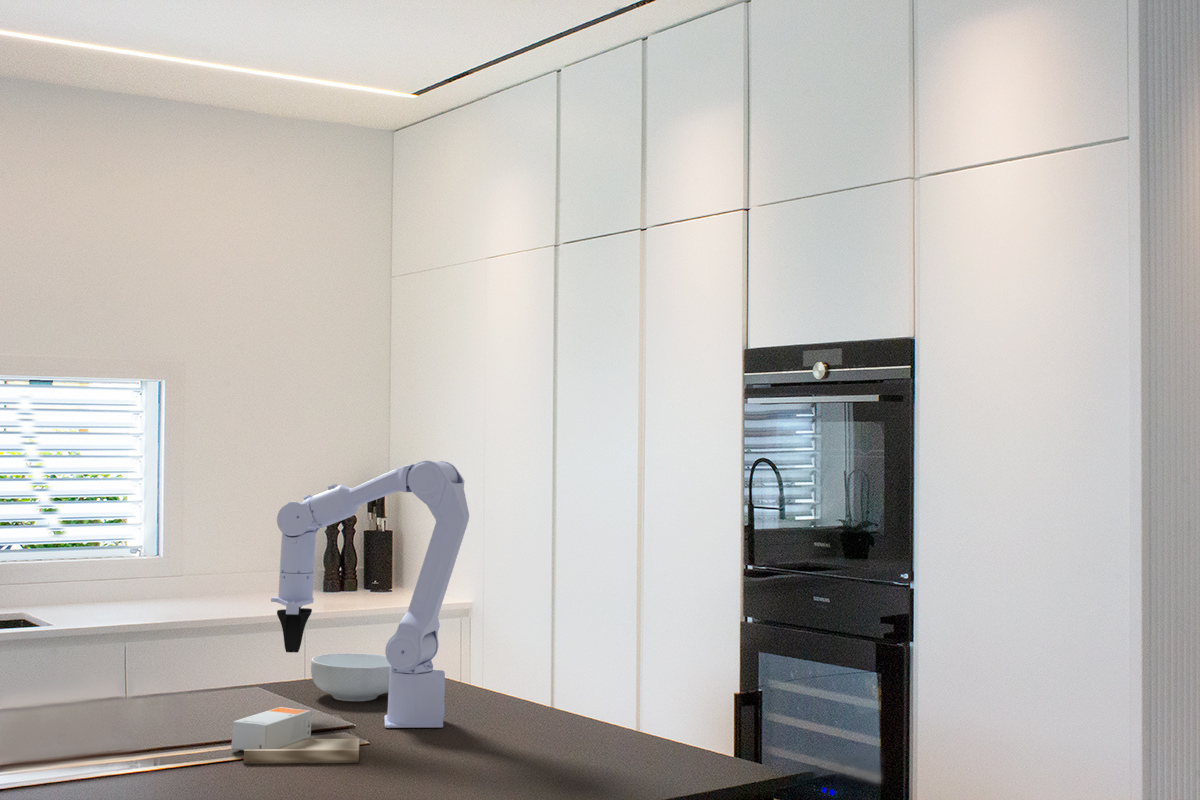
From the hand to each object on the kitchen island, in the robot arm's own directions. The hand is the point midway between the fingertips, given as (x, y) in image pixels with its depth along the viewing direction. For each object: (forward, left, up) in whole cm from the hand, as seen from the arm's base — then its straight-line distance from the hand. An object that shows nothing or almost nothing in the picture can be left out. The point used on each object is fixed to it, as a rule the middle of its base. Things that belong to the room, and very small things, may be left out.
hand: (292, 651), depth 198 cm
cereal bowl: (-11, -14, -11) cm, 21 cm away
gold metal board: (-4, +27, -10) cm, 29 cm away
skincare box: (-2, +18, -8) cm, 19 cm away
